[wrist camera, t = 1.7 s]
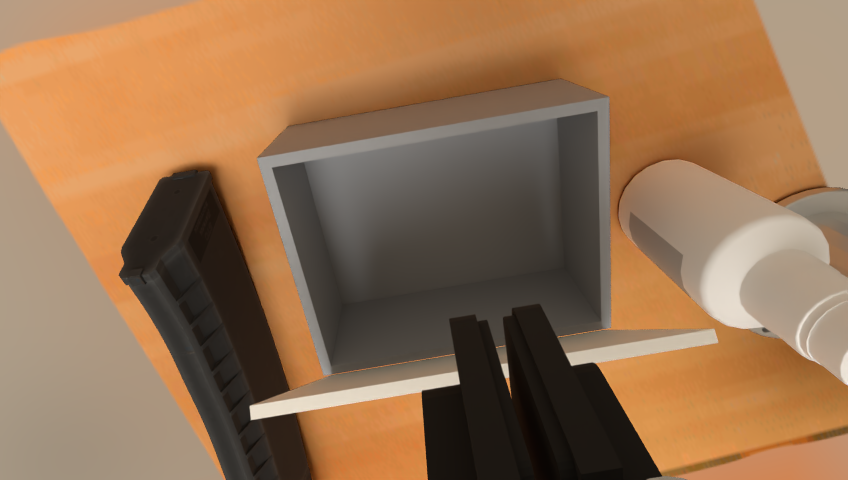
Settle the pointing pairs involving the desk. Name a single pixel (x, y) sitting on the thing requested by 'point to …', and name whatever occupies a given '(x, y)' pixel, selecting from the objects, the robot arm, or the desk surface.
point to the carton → (445, 219)
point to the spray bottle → (741, 257)
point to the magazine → (213, 326)
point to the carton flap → (446, 374)
